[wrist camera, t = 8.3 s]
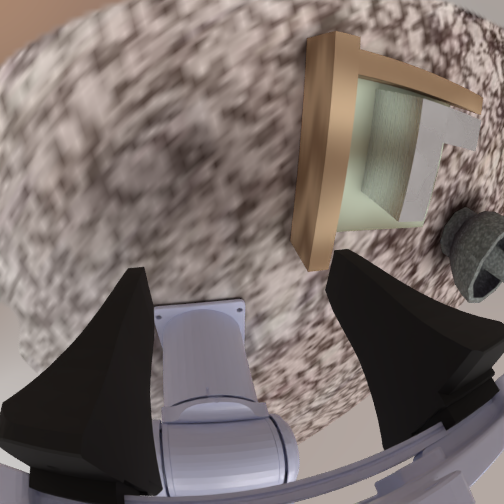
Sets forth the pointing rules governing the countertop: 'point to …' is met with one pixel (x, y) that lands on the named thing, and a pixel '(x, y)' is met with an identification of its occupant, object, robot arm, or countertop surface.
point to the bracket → (410, 151)
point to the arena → (349, 139)
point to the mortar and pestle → (475, 252)
